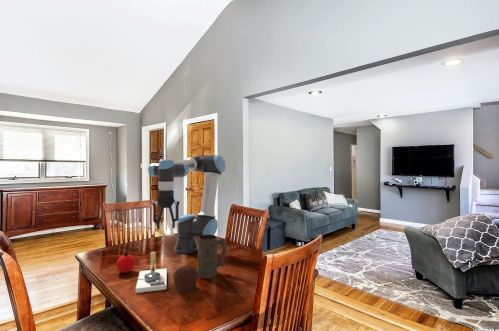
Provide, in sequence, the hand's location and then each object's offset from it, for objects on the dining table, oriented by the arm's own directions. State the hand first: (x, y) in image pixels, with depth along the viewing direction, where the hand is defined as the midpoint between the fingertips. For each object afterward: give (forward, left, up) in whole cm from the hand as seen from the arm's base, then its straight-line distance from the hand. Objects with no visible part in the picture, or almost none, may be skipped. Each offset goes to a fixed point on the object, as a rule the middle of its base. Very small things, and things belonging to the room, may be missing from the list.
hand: (165, 234), depth 137 cm
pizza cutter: (+6, +5, -18) cm, 20 cm away
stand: (+6, +6, -21) cm, 22 cm away
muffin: (-9, +18, -21) cm, 29 cm away
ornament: (+20, -10, -21) cm, 31 cm away
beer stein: (-23, +4, -21) cm, 31 cm away
